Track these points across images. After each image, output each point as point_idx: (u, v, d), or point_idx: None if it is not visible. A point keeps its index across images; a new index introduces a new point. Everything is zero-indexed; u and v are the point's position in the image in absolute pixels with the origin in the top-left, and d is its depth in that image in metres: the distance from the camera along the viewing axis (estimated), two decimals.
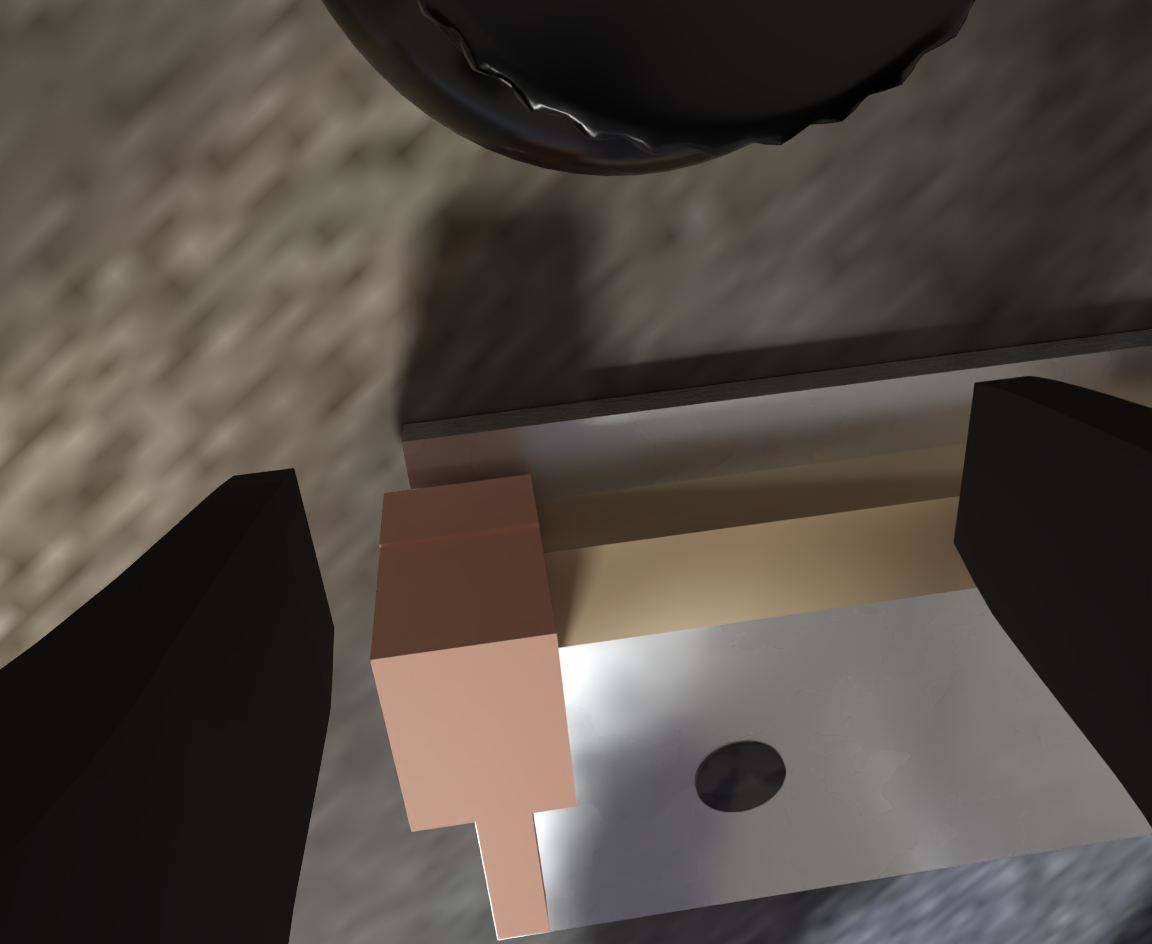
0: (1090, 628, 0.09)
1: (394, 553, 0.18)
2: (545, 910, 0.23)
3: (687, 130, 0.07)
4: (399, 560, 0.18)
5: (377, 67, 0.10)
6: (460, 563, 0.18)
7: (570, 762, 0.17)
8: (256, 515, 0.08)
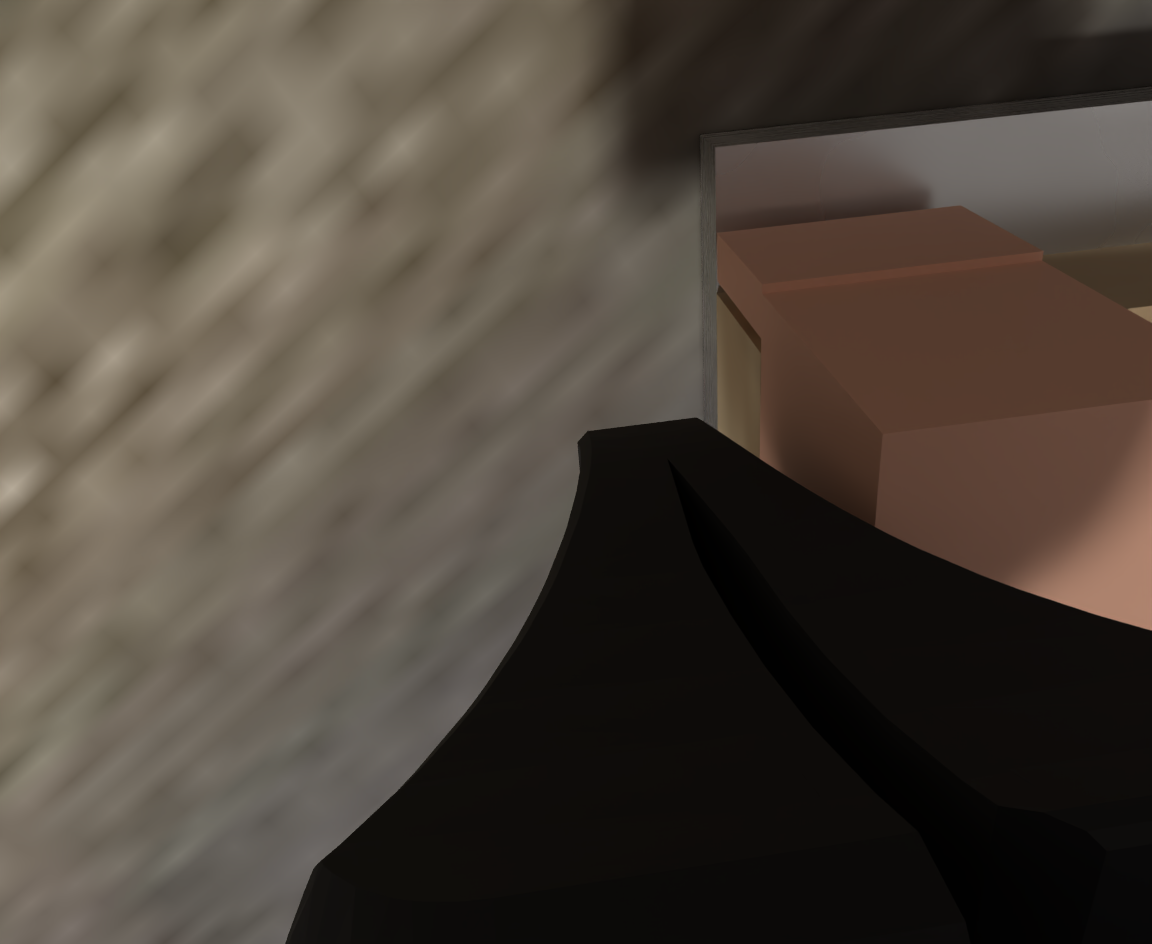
0: None
1: (793, 297, 0.10)
2: None
3: None
4: (811, 303, 0.10)
5: None
6: (938, 304, 0.10)
7: None
8: (665, 462, 0.09)
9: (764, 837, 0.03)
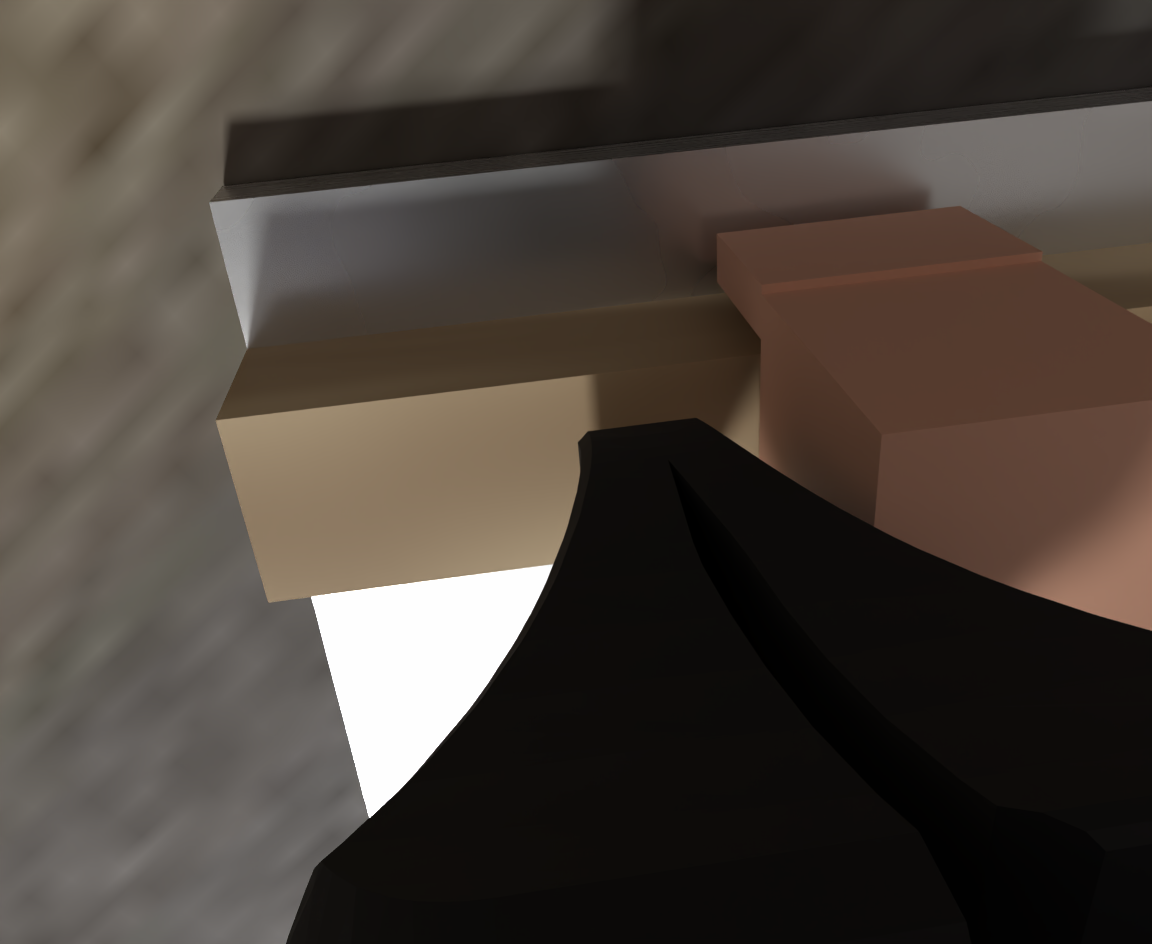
0: None
1: (793, 297, 0.10)
2: None
3: None
4: (811, 306, 0.10)
5: None
6: (937, 304, 0.10)
7: None
8: (666, 462, 0.09)
9: (766, 836, 0.04)
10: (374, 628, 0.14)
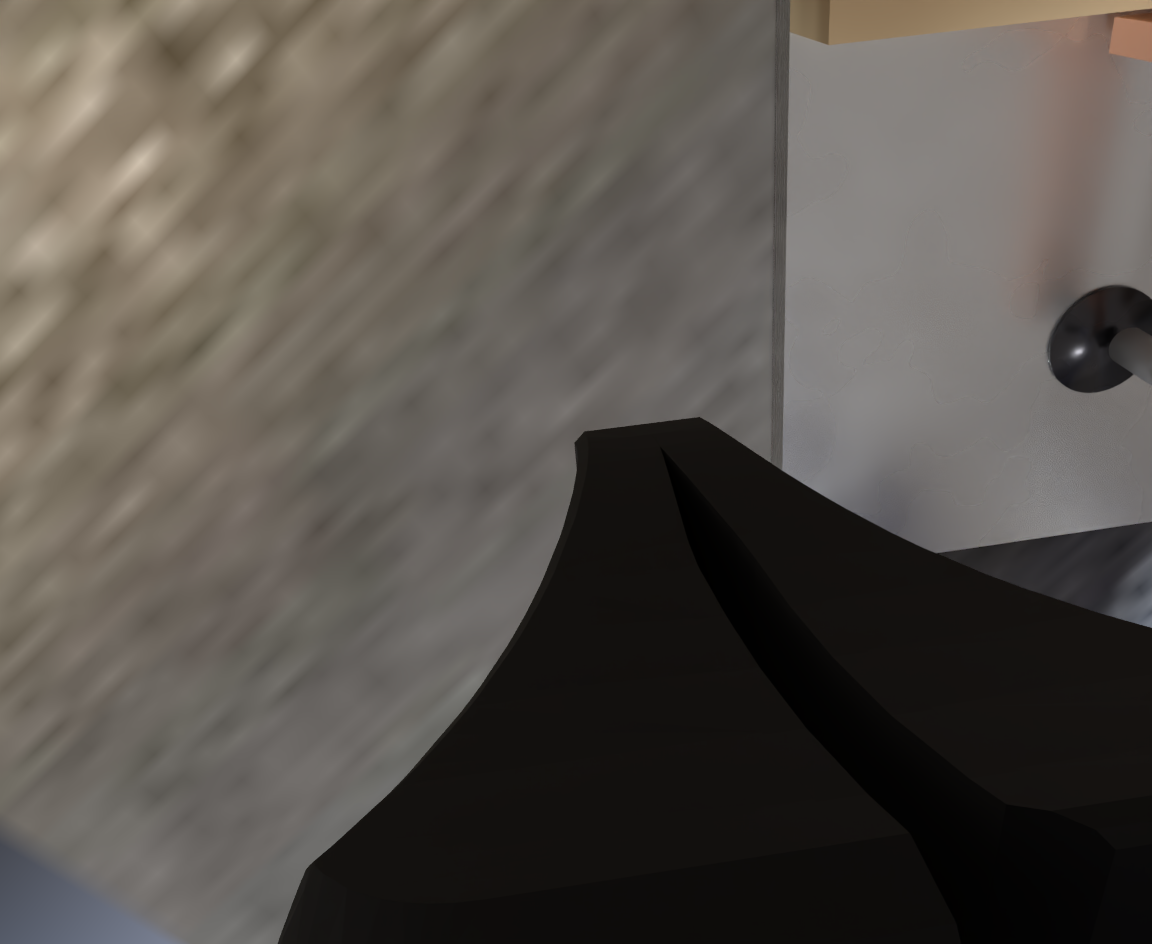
0: None
1: None
2: None
3: None
4: None
5: None
6: None
7: None
8: (662, 462, 0.09)
9: (755, 838, 0.03)
10: (827, 148, 0.19)
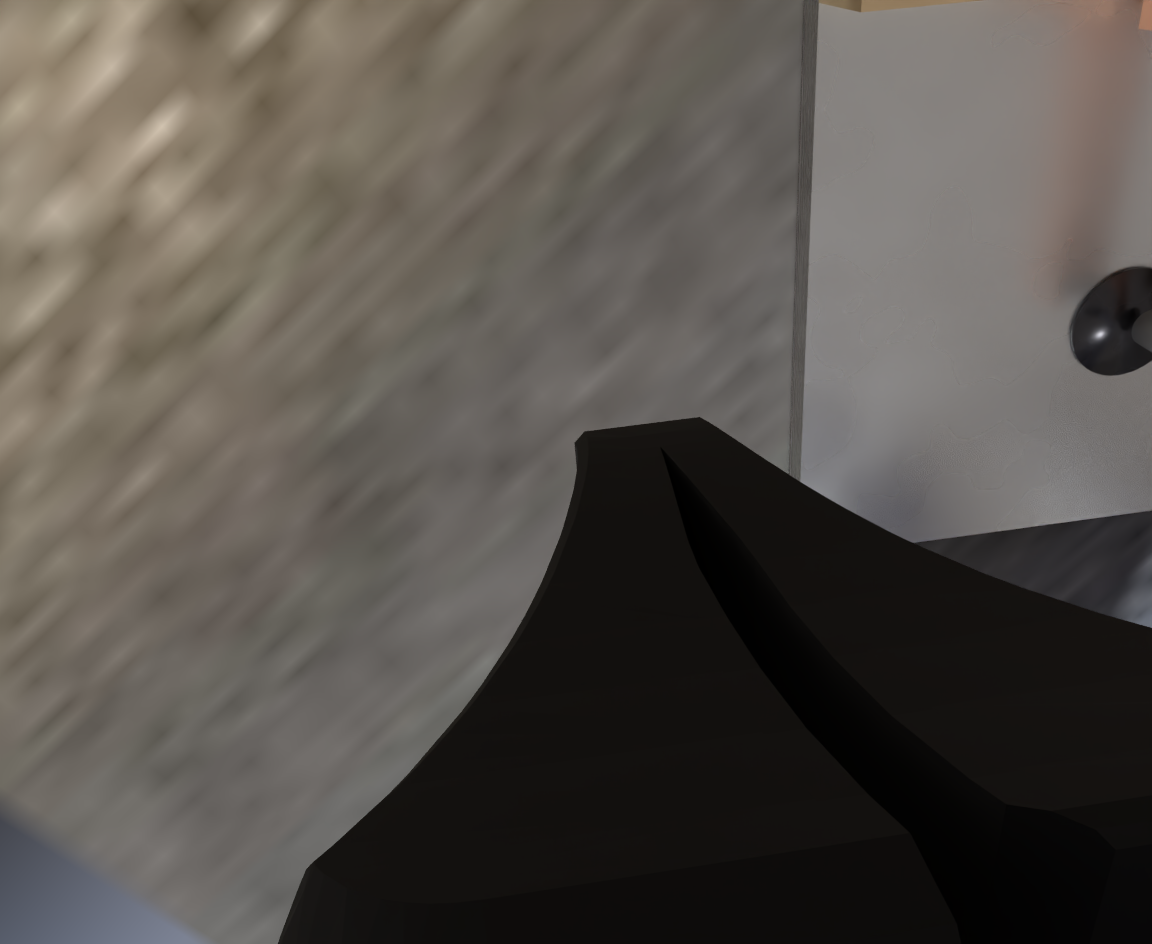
0: None
1: None
2: None
3: None
4: None
5: None
6: None
7: None
8: (662, 462, 0.09)
9: (757, 838, 0.03)
10: (854, 122, 0.18)
